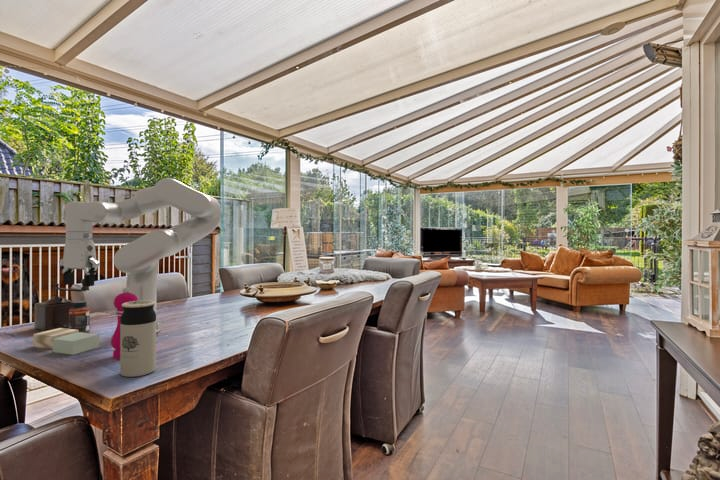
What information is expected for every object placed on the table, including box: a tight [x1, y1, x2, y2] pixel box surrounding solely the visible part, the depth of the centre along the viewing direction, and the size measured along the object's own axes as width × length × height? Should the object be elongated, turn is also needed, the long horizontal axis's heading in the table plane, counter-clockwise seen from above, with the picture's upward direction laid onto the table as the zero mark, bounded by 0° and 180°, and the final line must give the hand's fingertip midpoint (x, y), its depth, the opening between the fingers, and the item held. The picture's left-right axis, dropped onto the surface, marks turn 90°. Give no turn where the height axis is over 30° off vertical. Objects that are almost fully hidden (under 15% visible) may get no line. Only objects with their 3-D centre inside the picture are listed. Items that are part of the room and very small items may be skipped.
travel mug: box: [119, 300, 157, 378], centre depth 97 cm, size 8×8×18 cm
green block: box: [52, 332, 100, 356], centre depth 115 cm, size 8×8×4 cm
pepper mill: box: [110, 287, 138, 360], centre depth 110 cm, size 7×7×20 cm
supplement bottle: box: [68, 300, 91, 333], centre depth 133 cm, size 6×6×11 cm
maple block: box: [33, 328, 79, 350], centre depth 120 cm, size 8×8×4 cm
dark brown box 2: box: [33, 278, 91, 332], centre depth 143 cm, size 16×11×18 cm
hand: (78, 285), depth 133 cm, fingers open, 9 cm apart
